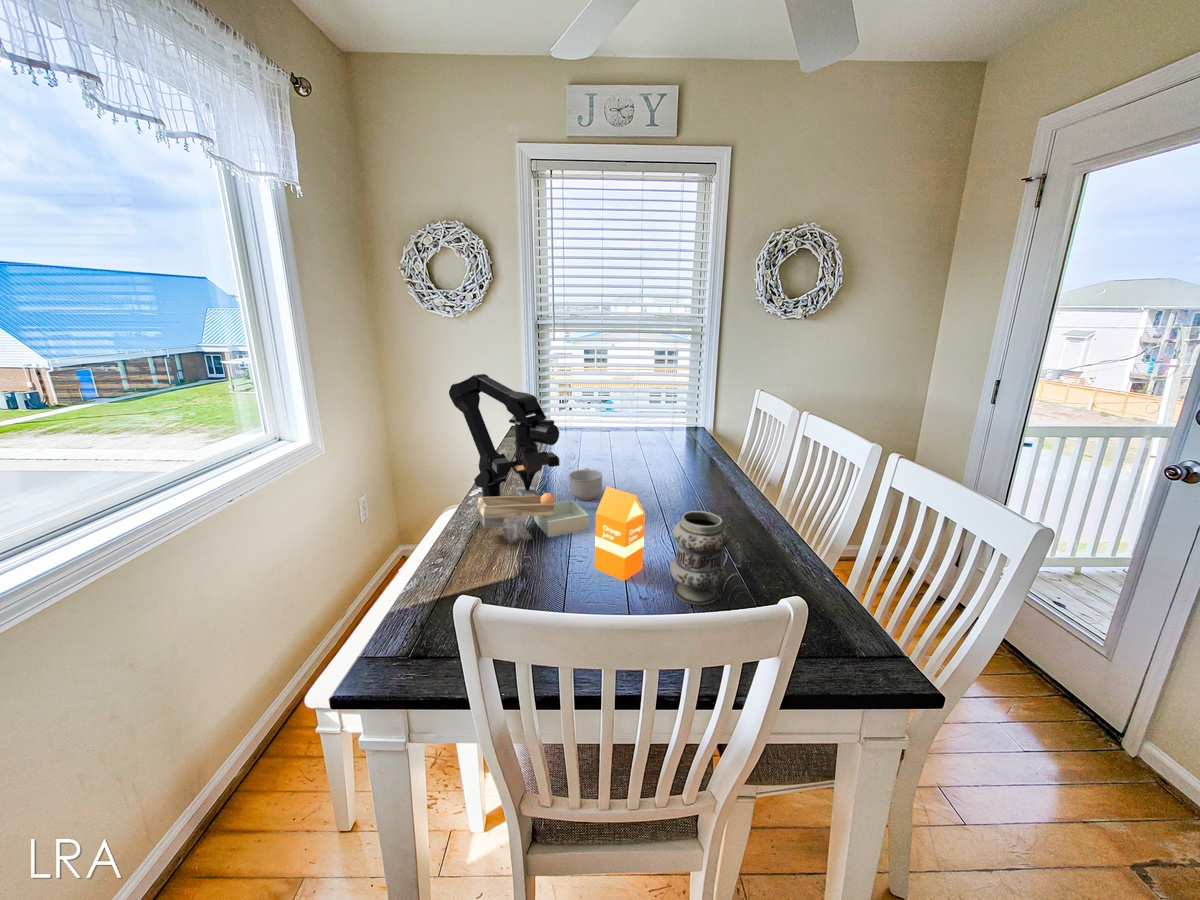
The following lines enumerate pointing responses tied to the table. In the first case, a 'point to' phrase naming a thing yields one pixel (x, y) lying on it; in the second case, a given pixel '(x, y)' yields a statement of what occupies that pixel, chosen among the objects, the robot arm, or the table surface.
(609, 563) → the orange juice
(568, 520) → the bin
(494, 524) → the lever
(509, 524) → the pivot stand
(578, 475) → the teacup
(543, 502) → the ball
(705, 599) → the apothecary jar
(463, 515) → the table surface
